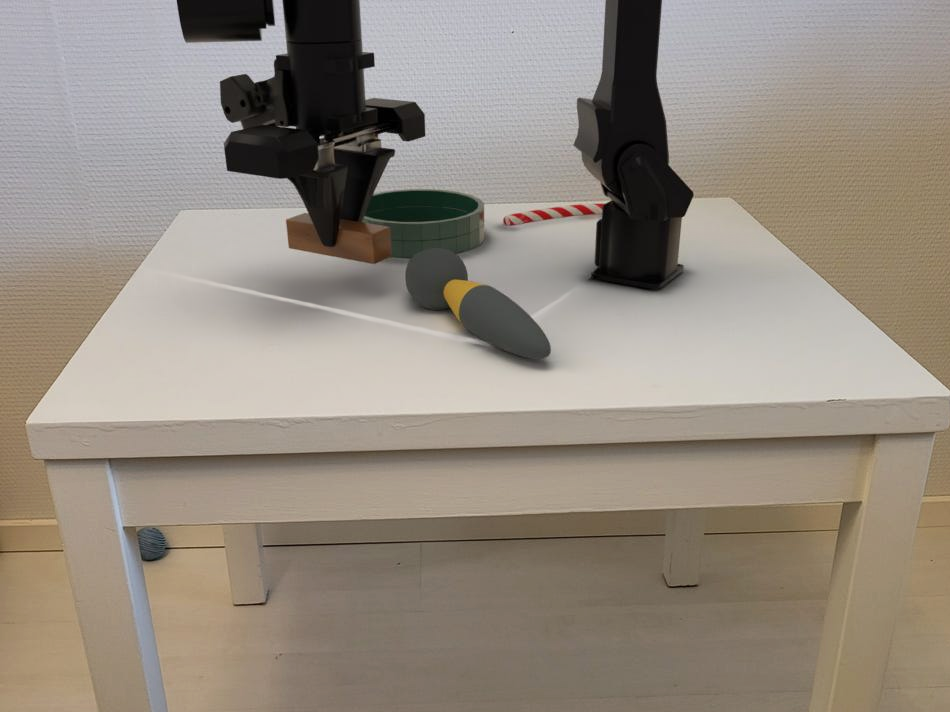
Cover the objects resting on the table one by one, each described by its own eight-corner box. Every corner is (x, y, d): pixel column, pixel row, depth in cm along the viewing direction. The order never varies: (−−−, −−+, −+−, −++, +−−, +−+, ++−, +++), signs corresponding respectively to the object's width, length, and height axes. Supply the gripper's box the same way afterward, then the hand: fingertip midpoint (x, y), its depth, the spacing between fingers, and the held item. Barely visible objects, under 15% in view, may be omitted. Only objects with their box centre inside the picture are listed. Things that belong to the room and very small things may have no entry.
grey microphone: (586, 357, 72) (589, 291, 70) (534, 374, 70) (535, 306, 67) (429, 288, 86) (427, 231, 83) (381, 300, 83) (377, 241, 81)
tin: (508, 234, 100) (508, 198, 98) (437, 269, 90) (436, 230, 88) (401, 217, 106) (399, 183, 104) (323, 248, 96) (320, 211, 94)
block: (392, 256, 82) (390, 226, 81) (374, 264, 80) (372, 234, 79) (307, 241, 86) (304, 212, 85) (288, 248, 84) (285, 219, 83)
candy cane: (497, 206, 105) (634, 200, 107) (497, 219, 105) (633, 212, 107) (512, 227, 98) (657, 219, 100) (512, 240, 98) (656, 231, 101)
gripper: (318, 24, 86) (332, 205, 93) (155, 46, 72) (187, 256, 79) (425, 30, 81) (431, 220, 88) (273, 55, 67) (295, 279, 74)
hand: (339, 241), depth 83 cm, fingers closed on block, 2 cm apart
